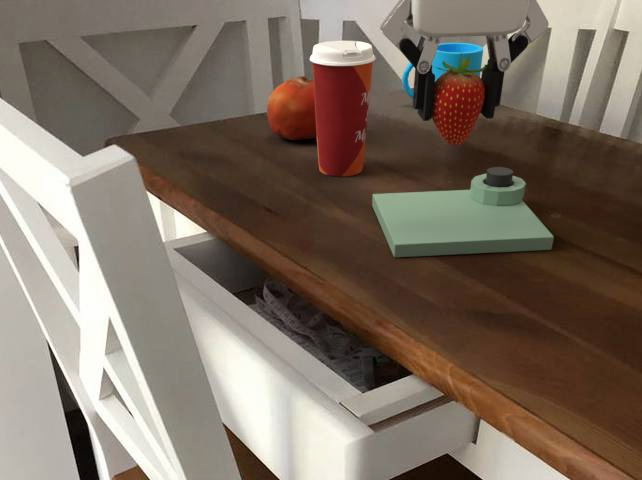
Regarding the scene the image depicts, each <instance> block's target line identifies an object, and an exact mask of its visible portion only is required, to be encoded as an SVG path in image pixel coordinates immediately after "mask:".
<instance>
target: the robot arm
mask: <svg viewBox="0 0 642 480" xmlns="http://www.w3.org/2000/svg"><path fill="white" fill-rule="evenodd" d="M405 22H406V24H407V25H408V26H409V27H411V28H413V29H414V32H416V33H418V34H419V37H418V39H417V42H416V44H415V43H414V42H413V41H412V40H411V39H410V38H409V37H408V36H407V35H406V34H405V32H404V31H403V25H404V24H405ZM548 28H549V21H548V19H547V16H546V15H545V13H544V11H543V9H542V7H541V6H540V5H539V3H538V1H537V0H398V1H397V3H396V4H395V6H394V7H393V8H392V9H391V10H390V12H389V13H388V15H387V16H386V17H385V18H384V20H383V21H382V23H381V24H380V26H379V29H380V32H381V33H382V34H383V36H384V37H385V38H386V39H387V40H389V41H390V43H392V45H394V46H395V47H396V48H397V49H398V50H399V51H400V53H402V55H403V56H404V57H405V58H406V59H407V61H408V63H411V64H412V65H413V66H414V67H413V68H414V79H413V90H412V91H413V99H412V107H413V109H414V110H417V114H418V116H419V117H420V119H421V120H422V121H423V122H429V121H430V120H432V109H433V98H434V87H435V75H434V74H433V73H432V62H433V59H434V56H435V54H436V51H437V48H438V45H439V44H441V43H440V42H441V40H442V38H447V37H448V38H453V37H457V38H458V37H485V40H486V47H487V53H488V59H487V64H488V65H487V64H484V66H486V65H487V66H486V68H485V69H484V70H483V71H482V72H481V75H480V78H481V80H482V82H483V84H484V87H485V98H484V103H483V106H482V109H481V112H480V114H481V115H482V116H483V117H484V118H486V119H489V120H490V119H493V118H494V116H495V109H496V107H499V106H500V104H501V100H502V92H503V85H504V78H505V73H506V71H508V70H509V69H510V68H511V65H512V64H513V62H514V61H515V60H516V59H517V58H518V57H519V56H520V55H521V54H522V53H523V52H524V51H525V50H526V49H527V48H528V46H529V45H530V44H531V43H533V42H534V41H535V40H536V39H538V38H539V37H540V36H541V35H542V34H544V33H545V31H547V30H548ZM510 34H512V35H510ZM508 35H510V37H508Z"/></svg>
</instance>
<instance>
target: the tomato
mask: <svg viewBox="0 0 642 480" xmlns="http://www.w3.org/2000/svg"><path fill="white" fill-rule="evenodd" d="M285 80H286V81H284V82H283V83H281V84H279V85H277V87H275V88H274V90H273V91H272V93H271V94H270V95H269V97H268V99H267V104H266V116H267V121H268V124H269V127H270V129H271V131H272V132H273V134H275V135H276V136H278V137H280V138H283V139H286V140H289V141H299V140H311V139H312V140H313V139H315V138H316V139H317V133H316V116H315V99H314V81H313V80H312V79H309V78H308V77H306V76H304V75H302V76H301V75H299V76H297V77H295V78H291V77H290V78H287V79H285Z"/></svg>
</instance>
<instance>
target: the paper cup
mask: <svg viewBox="0 0 642 480" xmlns="http://www.w3.org/2000/svg"><path fill="white" fill-rule="evenodd" d="M376 60H377V59H376V56H375V54H374V51H373V46H372V44H370V43H368V42H364V41H359V40H330V41H323V42H319V43H316V44H314V45H313V47H312V54H311V55H310V57H309V61H310V62H311V63H312V76H313V78H312V79H313V81H314V99H315V116H316V133H317V137H316V147H317V160H318V161H317V163H318V169H319V172H320V173H321V174H323V175H325V176H331V177H343V178H344V177H351V176H355V175H359V174H361V173H362V171H363V169H364V161H365V152H366V151H365V150H366V140H367V130H368V118H369V109H370V108H369V107H370V98H371V97H370V96H371V86H372V73H373V62H374V61H376Z"/></svg>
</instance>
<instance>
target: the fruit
mask: <svg viewBox="0 0 642 480" xmlns="http://www.w3.org/2000/svg"><path fill="white" fill-rule="evenodd" d="M442 63H443V66H444V67H445V68H448V69H450V70H444V71H447V72H445V73H443V74H442V75H441V76H440V77H439V78H438V79H437V80H436V81H435V87H434V98H433V109H432V118H431V120H432V122H433V124H434V126H435V128H436V130H437V132H438V134H439V136H440V137H441V138H442V140H444V141H445V142H446V143H447V144H449V145H452V146H459V145H461V144H463V143H465V141H466V140H467V139H468V138H469V136H470V135H471V133H472V131H473V129H474V127H475V125H476V122H477V121H478V119H479V116H480V114H481V113H480V112H481V109H482V106H483V103H484V98H485V87H484V84H483V82H482V80H481V76H480V77H479V76H478V75H477V74H475V73H473V72H481V73H482V71H483V70H484V69H485V68H486V66H487V65H488V64H485V65H486V66H485V65H484V66H482V67H481V69H478V70H467V69H466V68H467V67H469V65H470V59H469V56H468V57H467V58H466V59H465V60H464V61H463V62H462V53H461V55H460V61H459V65H458V68H454V67H452V66H450V65H448V64H446V63H445V62H444V61H443V62H442ZM435 68H437V67H435ZM438 69H440V70H443V69H441V68H438Z"/></svg>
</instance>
